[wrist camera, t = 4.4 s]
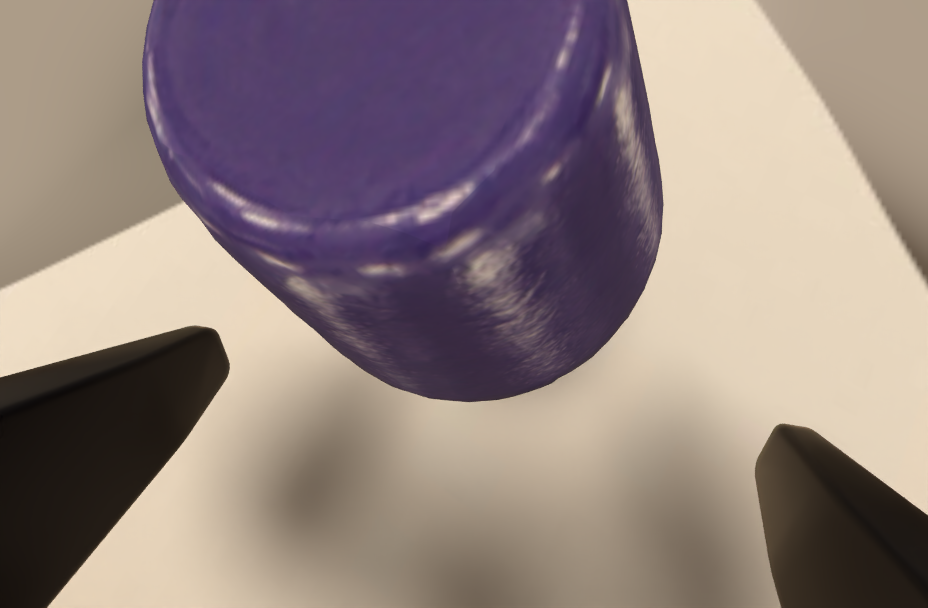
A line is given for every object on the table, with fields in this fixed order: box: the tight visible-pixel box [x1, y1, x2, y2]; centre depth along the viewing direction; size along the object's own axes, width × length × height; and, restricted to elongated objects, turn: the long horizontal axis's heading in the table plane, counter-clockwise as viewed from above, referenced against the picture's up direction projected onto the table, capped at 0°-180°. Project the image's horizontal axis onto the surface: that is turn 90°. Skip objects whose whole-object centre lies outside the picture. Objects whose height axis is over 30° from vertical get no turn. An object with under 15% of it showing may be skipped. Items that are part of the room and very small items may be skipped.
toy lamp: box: [142, 0, 663, 402], centre depth 11 cm, size 5×5×17 cm
